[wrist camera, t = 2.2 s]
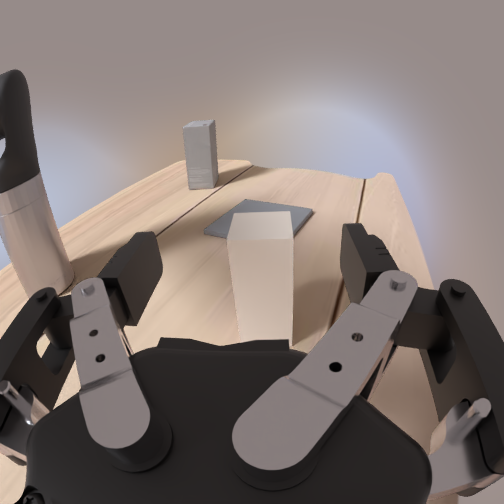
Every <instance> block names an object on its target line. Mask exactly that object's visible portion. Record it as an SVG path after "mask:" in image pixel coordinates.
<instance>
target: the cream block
mask: <svg viewBox="0 0 504 504" xmlns="http://www.w3.org/2000/svg"><path fill="white" fill-rule="evenodd" d="M226 241H227V249H228V257H229V264H230V272H231V279H232V287H233V294H234V301H235V308H236V315H237V322H238V329H239V336H240V343H242V342H247V341H252V340H275V339H289V346H292V327H293V261H294V238H293V230H292V222H291V214H290V211H277V212H249V213H234V215H233V218H232V222H231V226H230V229H229V233H228V237H227V240H226Z"/></svg>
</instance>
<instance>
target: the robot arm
mask: <svg viewBox="0 0 504 504" xmlns="http://www.w3.org/2000/svg"><path fill="white" fill-rule="evenodd" d="M3 138H5V140H6V147H5V151H4V153H3V155H2V157H1V158H0V235H1V238H2V241H3V243H4V246H5V248H6V250H7V253H8V255H9V257H10V260H11V262H12V264H13V267H14V269H15V271H16V273H17V275H18V278H19V280H20V282H21V284H22V286H23V288H24V290H25V292H26V294H27V296H28V297H29V300H28V301H27V303H26V304H25V305H24V307H23V308H22V309H21V311H20V312H19V313H18V315H17V316H16V317H15V319H14V320H13V322H12V323H11V324H10V326H9V327H8V329H7V330H6V332H5V333H4V335H3V336H2V338H1V339H0V453H1V454H3V455H5V456H7V457H8V458H9V459H11V460H12V461H13V462H15V463H16V464H18V465H21V466H24V465H27V473H26V483H25V489H24V492H23V494H22V496H21V498H20V499H19V500H18V501H17V502H16V503H14V504H426V501H429V500H433V499H437V498H440V497H444V496H447V495H450V494H453V493H457V494H458V495H460V496H464V497H468V496H472V495H474V494H476V493H478V492H479V491H481V490H483V489H485V488H486V487H488V486H490V485H491V484H493V483H495V482H496V481H498V480H499V479H501V478H502V477H504V342H503V340H502V339H501V336H500V335H499V333H498V331H497V329H496V327H495V326H494V324H493V322H492V320H491V319H490V317H489V315H488V313H487V312H486V310H485V308H484V307H483V305H482V303H481V302H480V300H479V298H478V297H477V295H476V294H475V292H474V291H473V289H472V288H471V287H470V286H469V285H468V284H466V283H464V282H462V281H460V280H455V279H448V280H445V281H443V282H442V283H441V285H440V288H439V291H437V290H430V289H424V288H420V287H418V284H417V281H416V280H415V278H414V277H413V276H411V275H410V274H408V273H406V272H403V271H400V270H399V269H398V267H397V265H396V263H395V262H394V260H393V258H392V256H391V255H390V253H389V251H388V250H387V249H386V246H385V245H384V243H383V241H382V240H381V239H379V238H378V237H376V236H375V235H368V234H367V232H366V230H365V229H364V227H363V225H362V224H361V223H351V224H343V228H342V241H341V254H340V267H341V272H342V276H343V279H344V282H345V285H346V289H347V292H348V295H349V299H350V302H351V304H350V305H349V306H348V307H347V308H346V310H345V311H344V312H343V313H342V315H341V316H340V317H339V318H338V319H337V321H336V322H335V323H334V324H333V326H332V327H331V328H330V329H329V330H328V332H327V333H326V334H325V335H324V336H323V338H322V339H321V340H320V341H319V342H318V343H317V345H316V346H315V347H314V348H313V349H312V350H311V351H310V353H309V354H307V353H304V352H301V351H297V350H293V349H289V339H275V340H252V341H247V342H242V343H236V344H231V345H225V346H217V345H213V344H209V343H205V342H201V341H197V340H193V339H183V338H163V337H161V338H160V340H159V343H158V345H157V347H152V348H148V349H145V350H142V351H139V352H137V353H135V354H134V353H133V351H132V348H131V346H130V343H129V341H128V338H127V336H126V334H125V331H124V329H123V328H124V326H125V325H127V326H137V324H138V322H139V320H140V318H141V316H142V314H143V312H144V309H145V307H146V305H147V303H148V301H149V299H150V297H151V295H152V293H153V291H154V289H155V288H156V286H157V284H158V282H159V280H160V278H161V276H162V272H163V264H162V260H161V256H160V252H159V248H158V244H157V240H156V236H155V234H154V232H152V231H151V232H137V233H135V235H134V236H133V237H132V238H131V239H130V241H129V242H128V243H127V244H125V245H124V246H123V247H121V248H120V249H118V250H117V252H116V253H115V254H114V255H113V258H111V259H110V260H109V263H107V264H106V266H105V267H104V268H103V270H102V271H101V272H100V273H99V275H98V276H97V277H95V278H88V279H85V280H83V281H81V282H80V283H78V284H77V285H76V286H75V287H74V288H73V290H72V292H71V295H67V296H62V297H59V296H58V295H59V294H60V293H62V292H63V291H64V290H65V289H67V288H68V286H69V285H70V284H71V283H72V281H73V279H74V271H73V269H72V266H71V264H70V261H69V259H68V256H67V254H66V251H65V248H64V245H63V243H62V240H61V237H60V234H59V232H58V229H57V226H56V223H55V220H54V217H53V214H52V211H51V207H50V204H49V201H48V197H47V194H46V191H45V187H44V184H43V180H42V176H41V172H40V168H39V164H38V158H37V150H36V144H35V139H34V133H33V126H32V116H31V105H30V96H29V89H28V85H27V82H26V78H25V76H24V75H23V73H22V72H21V71H19V70H10V71H8V72H6V73H3V74H1V75H0V140H1V139H3ZM43 332H45V334H46V336H47V337H48V339H49V340H50V344H49V345H48V347H47V349H46V351H45V353H44V354H43V356H42V358H40V356H39V355H38V353H37V349H36V346H37V342H38V340H39V338H40V336H41V335H42V333H43ZM398 346H404V347H411V348H417V349H419V351H420V354H421V357H422V360H423V363H424V367H425V370H426V373H427V377H428V380H429V384H430V387H431V391H432V394H433V398H434V402H435V406H436V410H437V414H438V418H439V422H440V423H439V424H438V426H437V427H436V428H435V429H434V431H433V433H432V435H431V440H430V453H429V455H428V456H427V454H426V452H425V451H424V449H423V448H422V447H421V446H420V445H419V444H418V443H417V442H416V441H415V440H414V439H412V438H411V437H410V436H409V435H407V434H406V433H405V432H404V431H403V430H401V429H400V428H399V427H398V426H397V425H395V424H394V423H393V422H392V421H391V420H389V419H388V418H387V417H386V416H385V415H383V414H382V413H381V412H380V411H379V410H377V409H376V408H375V407H374V406H373V405H372V404H370V403H369V401H370V399H371V397H372V395H373V393H374V391H375V389H376V387H377V385H378V383H379V382H380V380H381V378H382V376H383V374H384V373H385V371H386V369H387V367H388V365H389V364H390V362H391V360H392V358H393V356H394V354H395V352H396V350H397V349H398ZM75 359H76V365H77V370H78V375H79V379H80V384H81V389H80V390H79V392H78V393H77V394H75V395H74V396H72V397H71V398H69V399H68V400H67V401H65V402H64V403H62V404H61V405H59V406H58V407H56V408H55V409H54V410H53V408H54V406H55V403H56V401H57V399H58V396H59V394H60V392H61V389H62V387H63V385H64V383H65V380H66V378H67V376H68V374H69V372H70V370H71V368H72V365H73V363H74V361H75Z"/></svg>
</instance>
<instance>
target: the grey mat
mask: <svg viewBox="0 0 504 504" xmlns="http://www.w3.org/2000/svg"><path fill="white" fill-rule="evenodd" d="M277 211H290V214H291V222H292V230H293V236H294V235H295V234H296V232H297V231H298V230H299V229H300V228H301V226H302V225H303V224H304V223H305V221H306V220H307V219H308V218H309V217H310V215H311V214H312V209H309V208H303V207H296V206H290V205H283V204H276V203H269V202H262V201H255V200H247V199H245V200H244V201H242V202H241V203H239V204H238V205H237V206H235V207H234V208H233V209H231V210H230V211H228V212H227V213H226V214H224V215H223V216H221V217H220V218H219V219H217V220H216V221H215V222H213V223H212V224H211V225H209V226H208V227H206V228H205V229H204V234H208V235H213V236H218V237H222V238H227V237H228V233H229V229H230V226H231V222H232V218H233V215H234V213H249V212H277Z"/></svg>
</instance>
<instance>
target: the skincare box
mask: <svg viewBox="0 0 504 504" xmlns="http://www.w3.org/2000/svg"><path fill="white" fill-rule="evenodd" d="M183 135H184V146H185V155H186V166H187V175H188V184H189V189H190V190H191V189H210V188H214V187H215V184H216V182H217V180H218V162H217V147H216V130H215V120H204V121H192V122H190V123H188V124H187V125H185V126H184V127H183Z"/></svg>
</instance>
